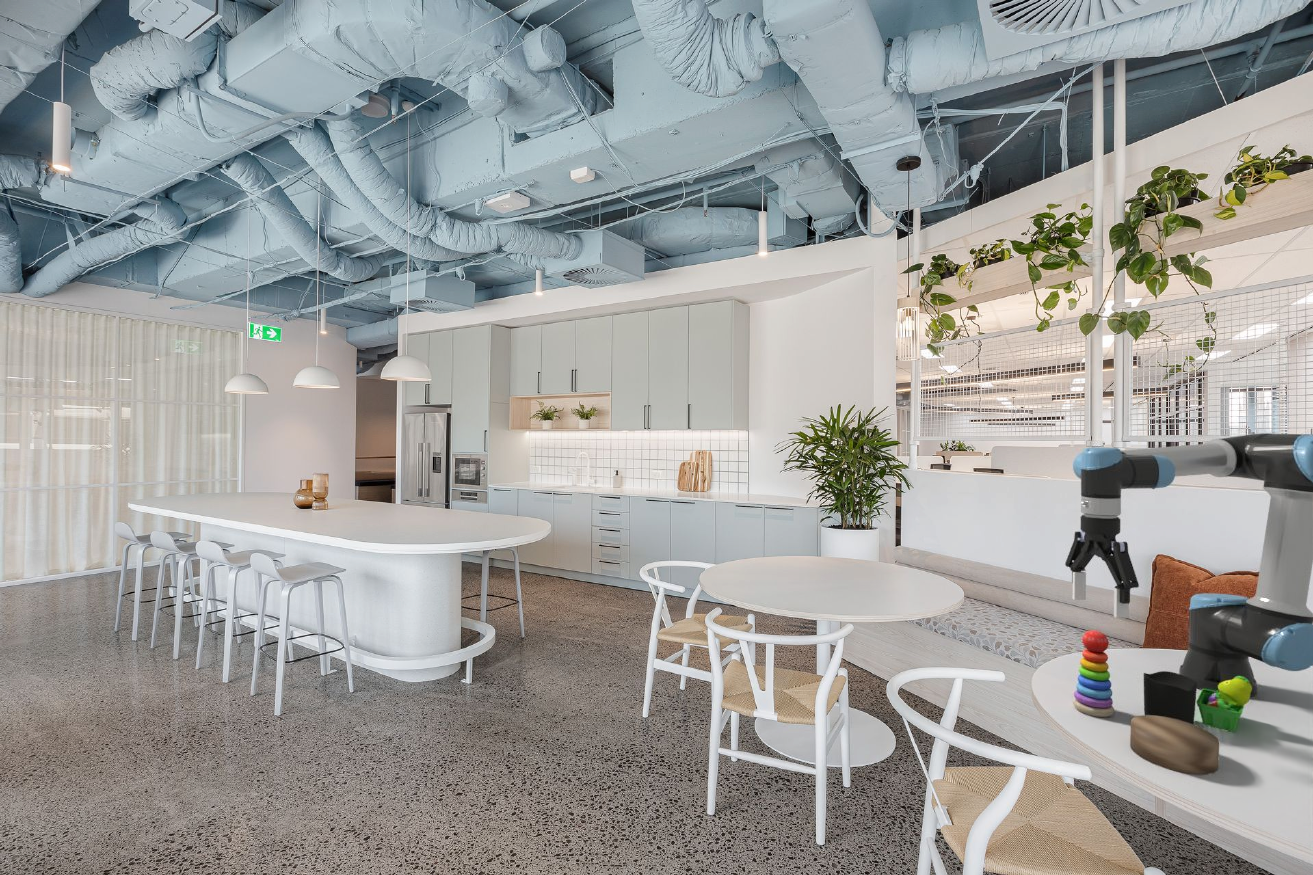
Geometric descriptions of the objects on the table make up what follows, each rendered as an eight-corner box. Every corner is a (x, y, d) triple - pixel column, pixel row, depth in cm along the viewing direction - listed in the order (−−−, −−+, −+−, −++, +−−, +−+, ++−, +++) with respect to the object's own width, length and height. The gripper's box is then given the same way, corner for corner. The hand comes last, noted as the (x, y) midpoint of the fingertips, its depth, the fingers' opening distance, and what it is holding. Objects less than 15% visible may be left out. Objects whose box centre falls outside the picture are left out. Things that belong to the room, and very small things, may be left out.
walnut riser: (1177, 737, 140) (1177, 714, 139) (1238, 773, 126) (1239, 748, 125) (1113, 738, 139) (1114, 715, 139) (1167, 775, 125) (1168, 749, 125)
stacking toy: (1120, 720, 148) (1123, 638, 147) (1081, 716, 149) (1083, 635, 148) (1104, 704, 155) (1106, 626, 155) (1067, 701, 157) (1069, 624, 156)
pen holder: (1139, 708, 153) (1140, 666, 153) (1190, 718, 148) (1192, 675, 148) (1145, 725, 145) (1146, 681, 145) (1199, 736, 140) (1201, 690, 140)
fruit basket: (1201, 708, 153) (1203, 661, 153) (1252, 721, 147) (1254, 671, 147) (1194, 724, 145) (1196, 674, 145) (1248, 739, 139) (1250, 686, 139)
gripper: (1049, 507, 161) (1048, 592, 162) (1125, 525, 136) (1123, 625, 137) (1079, 507, 161) (1078, 592, 162) (1160, 524, 136) (1158, 625, 137)
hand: (1099, 607), depth 149 cm, fingers open, 13 cm apart
